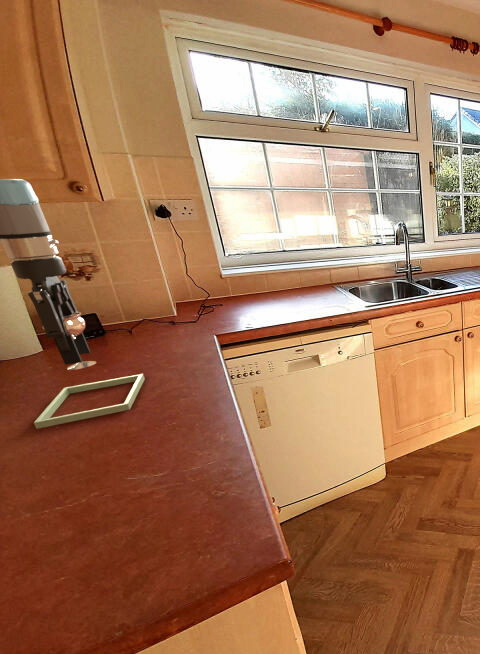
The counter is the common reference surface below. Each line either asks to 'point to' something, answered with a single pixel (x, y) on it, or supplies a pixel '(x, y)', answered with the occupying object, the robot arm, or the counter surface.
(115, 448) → the counter surface
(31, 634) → the counter surface
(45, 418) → the green rectangular frame
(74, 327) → the wineglass
